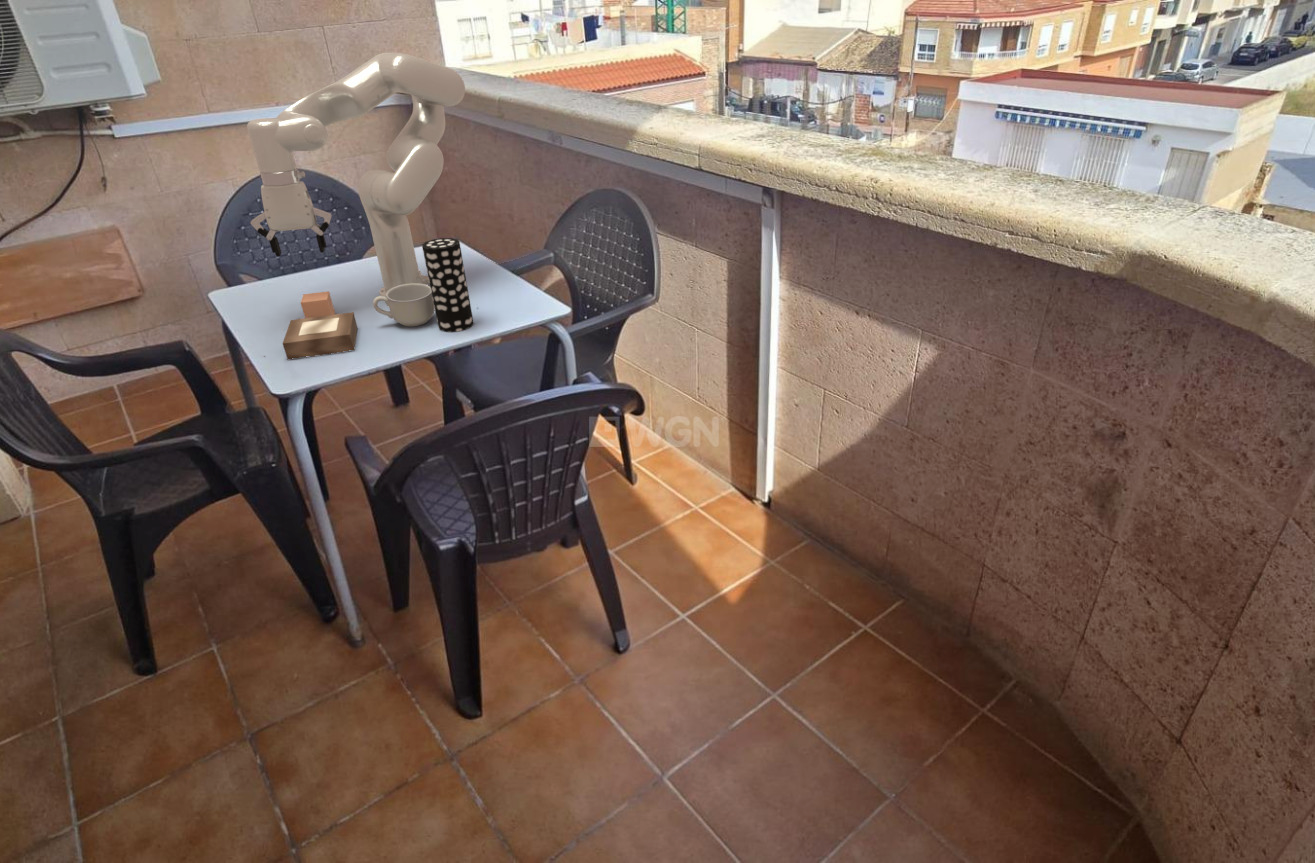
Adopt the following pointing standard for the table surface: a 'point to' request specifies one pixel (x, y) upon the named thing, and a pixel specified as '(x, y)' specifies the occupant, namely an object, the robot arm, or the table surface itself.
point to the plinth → (320, 335)
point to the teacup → (408, 304)
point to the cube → (317, 304)
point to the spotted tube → (448, 284)
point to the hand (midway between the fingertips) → (301, 253)
